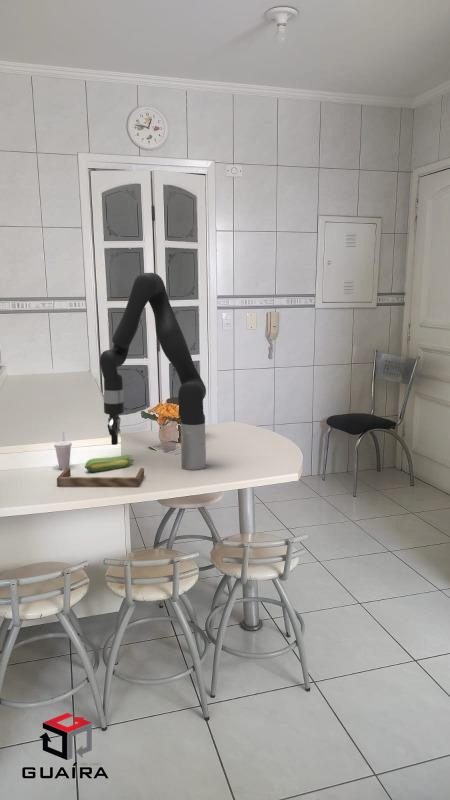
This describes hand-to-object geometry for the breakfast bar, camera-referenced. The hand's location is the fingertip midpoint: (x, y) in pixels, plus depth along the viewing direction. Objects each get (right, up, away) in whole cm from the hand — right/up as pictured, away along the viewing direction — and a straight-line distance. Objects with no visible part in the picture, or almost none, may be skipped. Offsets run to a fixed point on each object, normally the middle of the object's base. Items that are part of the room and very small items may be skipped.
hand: (114, 444), depth 219 cm
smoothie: (-18, -9, -7) cm, 21 cm away
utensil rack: (0, -11, -23) cm, 25 cm away
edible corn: (0, -9, -8) cm, 12 cm away
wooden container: (+24, 0, +35) cm, 43 cm away
